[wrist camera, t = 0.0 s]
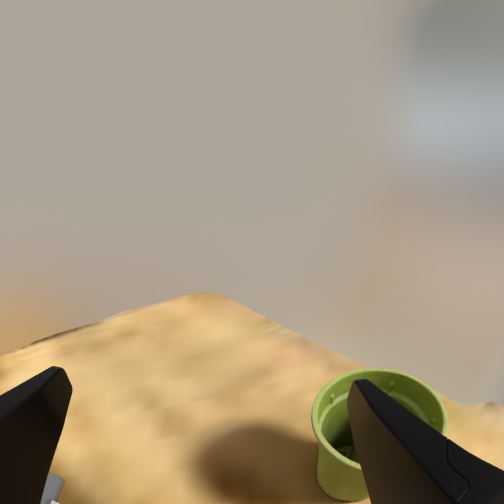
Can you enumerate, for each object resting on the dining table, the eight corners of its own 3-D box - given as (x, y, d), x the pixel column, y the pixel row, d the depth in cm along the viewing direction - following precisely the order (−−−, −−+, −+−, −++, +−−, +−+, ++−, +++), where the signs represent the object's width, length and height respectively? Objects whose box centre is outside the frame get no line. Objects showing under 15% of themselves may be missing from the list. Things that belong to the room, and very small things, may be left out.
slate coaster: (41, 547, 6) (37, 545, 6) (-22, 505, 6) (-26, 502, 6) (64, 480, 14) (61, 477, 14) (4, 452, 14) (1, 448, 14)
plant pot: (276, 458, 20) (284, 395, 17) (361, 419, 23) (386, 352, 20) (332, 538, 12) (372, 501, 9) (421, 477, 15) (470, 416, 12)
